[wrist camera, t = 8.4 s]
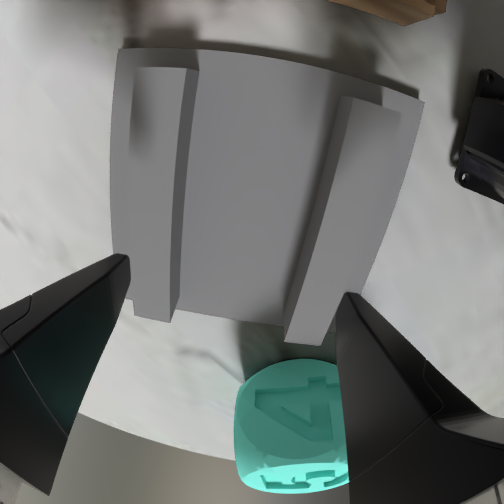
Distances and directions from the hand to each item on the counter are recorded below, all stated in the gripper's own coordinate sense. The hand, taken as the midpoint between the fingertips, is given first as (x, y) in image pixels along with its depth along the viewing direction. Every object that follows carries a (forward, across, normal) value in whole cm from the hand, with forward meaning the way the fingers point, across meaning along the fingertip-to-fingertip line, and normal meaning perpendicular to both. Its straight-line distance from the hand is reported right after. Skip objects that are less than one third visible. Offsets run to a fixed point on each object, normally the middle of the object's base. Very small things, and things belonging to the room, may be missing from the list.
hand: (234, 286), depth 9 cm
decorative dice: (+7, -6, +14) cm, 17 cm away
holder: (+7, 0, 0) cm, 7 cm away
